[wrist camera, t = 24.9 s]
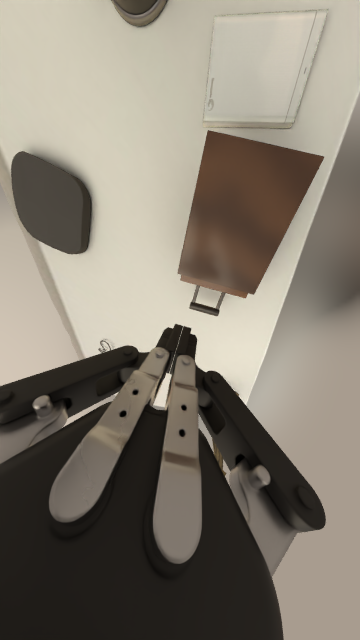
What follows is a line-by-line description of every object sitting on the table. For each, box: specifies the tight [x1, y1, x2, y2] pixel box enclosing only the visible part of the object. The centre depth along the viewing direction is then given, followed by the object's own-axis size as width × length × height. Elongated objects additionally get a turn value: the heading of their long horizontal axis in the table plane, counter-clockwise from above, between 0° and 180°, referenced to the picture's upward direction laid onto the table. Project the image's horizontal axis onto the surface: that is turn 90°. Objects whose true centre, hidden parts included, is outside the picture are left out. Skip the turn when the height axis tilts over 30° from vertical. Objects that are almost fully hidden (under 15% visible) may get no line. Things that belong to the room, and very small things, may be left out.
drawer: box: [181, 275, 248, 316], centre depth 26 cm, size 20×12×8 cm, turn 167°
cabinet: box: [178, 130, 324, 294], centre depth 24 cm, size 16×13×10 cm
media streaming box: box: [11, 151, 91, 254], centre depth 30 cm, size 15×15×3 cm
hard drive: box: [203, 9, 328, 128], centre depth 19 cm, size 2×8×12 cm
